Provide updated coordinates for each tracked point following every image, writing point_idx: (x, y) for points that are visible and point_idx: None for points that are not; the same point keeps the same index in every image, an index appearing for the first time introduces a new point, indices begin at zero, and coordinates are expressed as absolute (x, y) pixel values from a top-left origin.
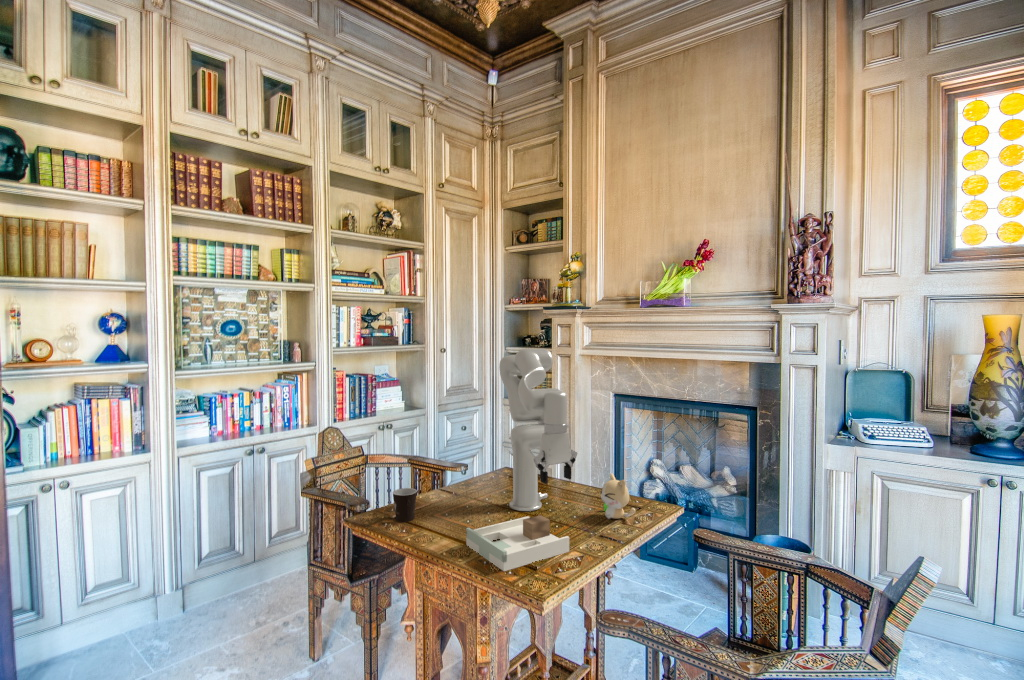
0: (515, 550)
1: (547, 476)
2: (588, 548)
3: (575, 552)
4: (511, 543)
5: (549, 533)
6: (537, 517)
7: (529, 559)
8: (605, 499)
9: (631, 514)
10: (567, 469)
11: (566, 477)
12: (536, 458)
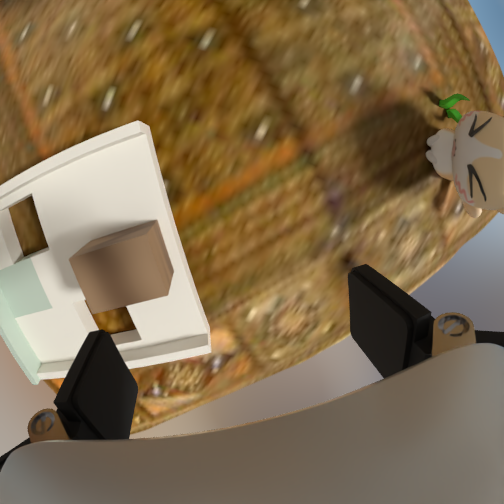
0: (60, 332)
1: (127, 430)
2: (268, 323)
3: (223, 335)
4: (52, 289)
5: (172, 273)
6: (126, 255)
7: None
8: (460, 164)
9: (465, 209)
10: (389, 362)
11: (352, 306)
12: None
